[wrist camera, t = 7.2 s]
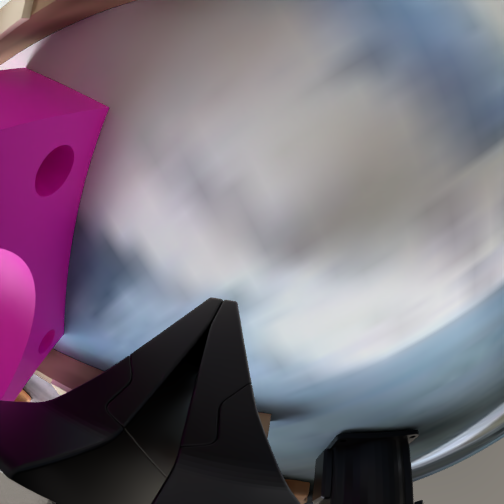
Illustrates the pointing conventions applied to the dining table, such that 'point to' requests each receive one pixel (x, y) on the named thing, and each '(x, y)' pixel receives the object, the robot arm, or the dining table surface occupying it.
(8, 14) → the lane rails
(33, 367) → the toy block
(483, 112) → the dining table surface
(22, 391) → the whiskey bottle
